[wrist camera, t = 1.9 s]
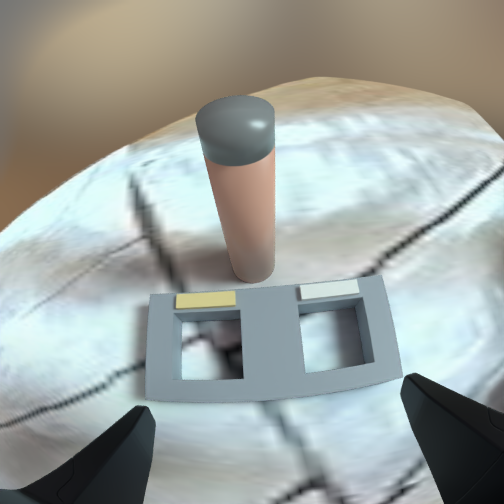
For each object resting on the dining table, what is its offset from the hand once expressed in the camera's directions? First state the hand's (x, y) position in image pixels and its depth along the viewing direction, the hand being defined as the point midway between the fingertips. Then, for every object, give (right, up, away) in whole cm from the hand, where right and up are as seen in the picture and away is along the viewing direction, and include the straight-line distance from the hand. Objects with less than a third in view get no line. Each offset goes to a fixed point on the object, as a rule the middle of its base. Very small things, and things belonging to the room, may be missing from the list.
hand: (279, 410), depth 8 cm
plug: (-1, +4, +19) cm, 19 cm away
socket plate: (+1, -3, +14) cm, 15 cm away
